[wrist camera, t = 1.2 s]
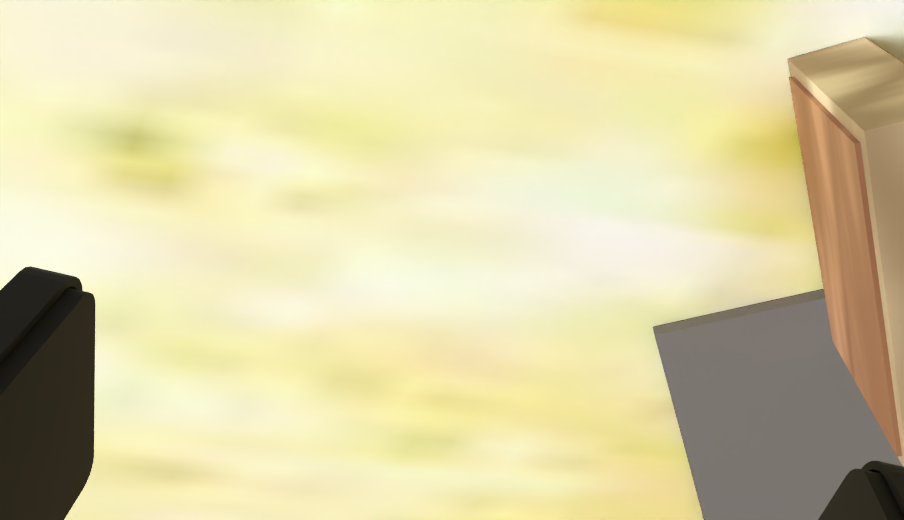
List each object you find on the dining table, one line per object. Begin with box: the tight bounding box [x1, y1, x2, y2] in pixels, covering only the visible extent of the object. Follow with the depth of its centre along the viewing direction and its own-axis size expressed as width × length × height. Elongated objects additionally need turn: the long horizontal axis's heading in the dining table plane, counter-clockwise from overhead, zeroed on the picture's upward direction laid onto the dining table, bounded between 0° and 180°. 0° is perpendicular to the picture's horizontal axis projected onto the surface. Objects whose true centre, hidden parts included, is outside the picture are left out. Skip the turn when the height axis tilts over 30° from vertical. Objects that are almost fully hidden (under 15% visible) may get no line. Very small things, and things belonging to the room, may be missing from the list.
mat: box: [653, 289, 902, 520], centre depth 37 cm, size 16×16×1 cm
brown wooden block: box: [788, 37, 904, 467], centre depth 28 cm, size 3×12×8 cm, turn 18°
